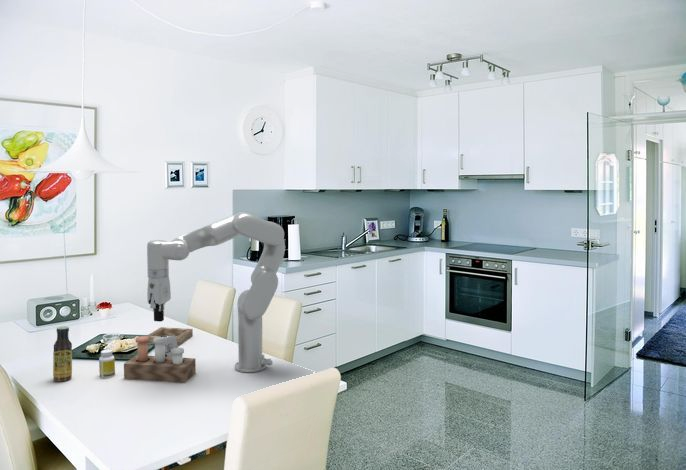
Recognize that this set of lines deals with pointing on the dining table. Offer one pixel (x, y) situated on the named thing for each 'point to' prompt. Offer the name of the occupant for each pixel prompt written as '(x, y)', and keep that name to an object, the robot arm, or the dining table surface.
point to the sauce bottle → (62, 356)
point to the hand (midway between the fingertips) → (158, 320)
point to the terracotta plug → (142, 348)
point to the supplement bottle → (106, 364)
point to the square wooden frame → (172, 334)
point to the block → (160, 370)
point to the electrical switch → (170, 345)
